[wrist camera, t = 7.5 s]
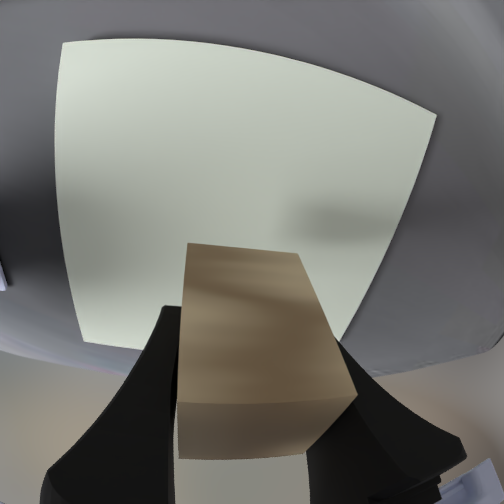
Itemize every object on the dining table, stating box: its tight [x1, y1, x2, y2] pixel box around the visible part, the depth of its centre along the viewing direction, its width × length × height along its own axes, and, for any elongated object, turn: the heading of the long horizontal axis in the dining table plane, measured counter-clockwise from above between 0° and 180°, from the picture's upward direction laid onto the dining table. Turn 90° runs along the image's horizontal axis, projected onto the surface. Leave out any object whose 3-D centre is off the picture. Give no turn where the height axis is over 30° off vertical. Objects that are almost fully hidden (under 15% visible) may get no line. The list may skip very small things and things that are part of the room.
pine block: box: [177, 243, 358, 460], centre depth 9 cm, size 4×4×6 cm
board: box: [55, 39, 437, 350], centre depth 17 cm, size 20×20×2 cm
